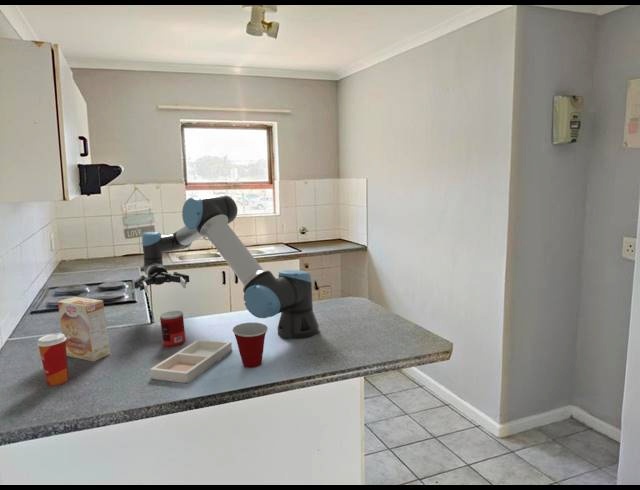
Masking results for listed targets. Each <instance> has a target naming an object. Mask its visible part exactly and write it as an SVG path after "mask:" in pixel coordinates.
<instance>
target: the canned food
mask: <svg viewBox="0 0 640 490" xmlns="http://www.w3.org/2000/svg"><path fill="white" fill-rule="evenodd" d="M159 317H160V318H159V319H160V320H159V321H160V328H161V337H162V345H164V347H165V348H175V347H176V346H177V347H179V346H182V345H184V344H185V343H186V333H185V332H186V331H185V324H184V323H185V322H184V313H183V311H180V310H171V311H170V310H169V311H167V312H163V313H162V314H160V316H159Z"/></svg>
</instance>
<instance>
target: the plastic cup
mask: <svg viewBox="0 0 640 490" xmlns="http://www.w3.org/2000/svg"><path fill="white" fill-rule="evenodd" d="M268 329H269V328H268V326H267V325H266V324H264V323H259V322H244V323H240V324H237V325H235V326H233V328H232V332H233V333H234V337H235V340H236V344H237V348H238V352H239V356H240V358H241V363H242V364H243V366H244V367H245V368H249V369H250V368H251V369H253V368H257V367H259V366H261V365H262V363H263V355H264V347H265V337H266V334H267V332H268Z"/></svg>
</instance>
